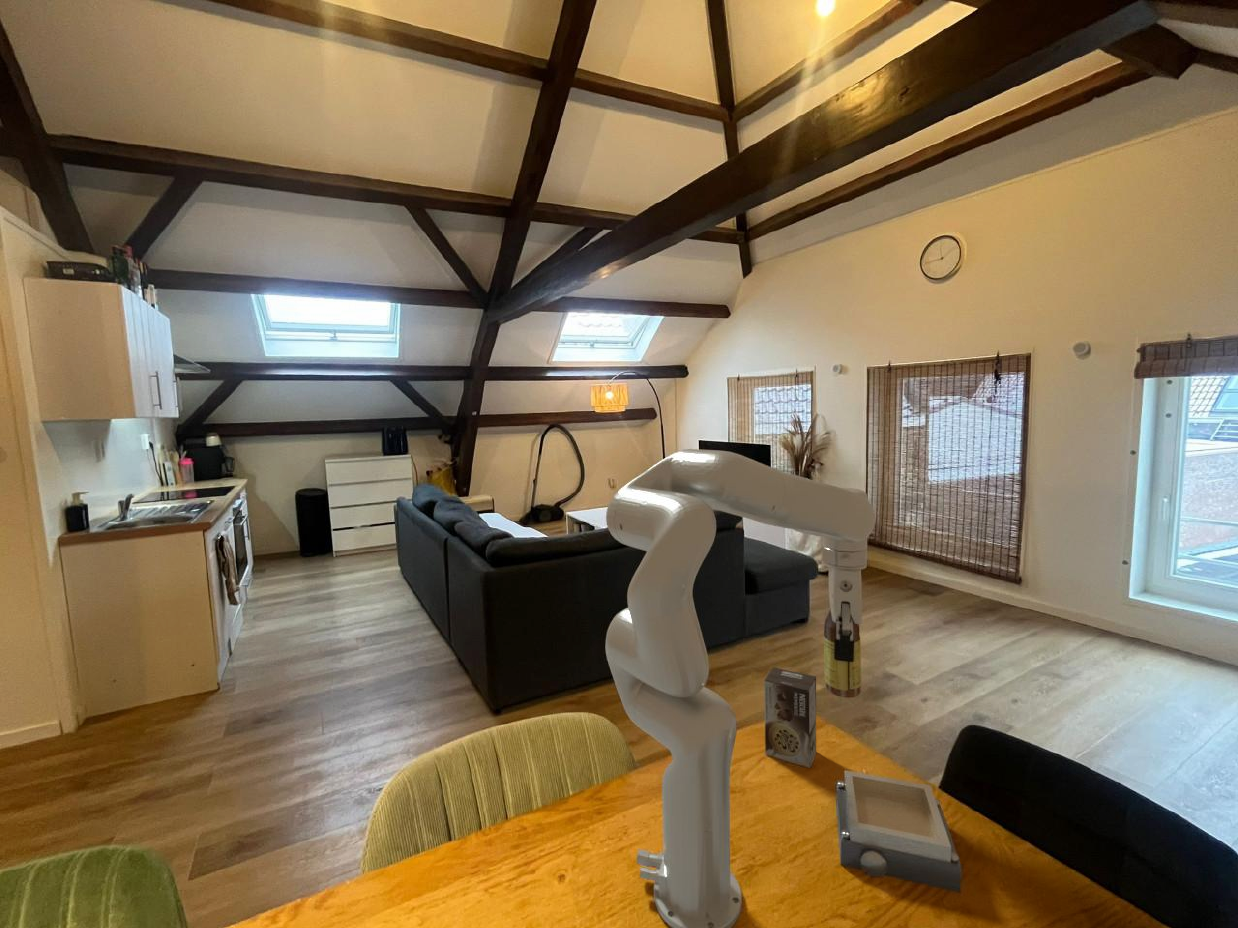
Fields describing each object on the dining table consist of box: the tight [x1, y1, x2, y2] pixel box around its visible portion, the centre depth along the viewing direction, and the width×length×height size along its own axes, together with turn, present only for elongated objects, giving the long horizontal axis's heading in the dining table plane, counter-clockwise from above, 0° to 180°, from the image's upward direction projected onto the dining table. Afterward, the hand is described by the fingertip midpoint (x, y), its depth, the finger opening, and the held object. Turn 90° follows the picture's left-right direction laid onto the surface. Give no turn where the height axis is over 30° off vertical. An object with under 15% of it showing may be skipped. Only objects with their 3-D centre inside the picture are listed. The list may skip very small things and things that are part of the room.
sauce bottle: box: [823, 608, 862, 699], centre depth 99 cm, size 6×6×20 cm
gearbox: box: [835, 770, 962, 894], centre depth 86 cm, size 16×15×6 cm
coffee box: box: [763, 667, 817, 769], centre depth 109 cm, size 9×6×16 cm
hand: (842, 651), depth 99 cm, fingers closed on sauce bottle, 6 cm apart
